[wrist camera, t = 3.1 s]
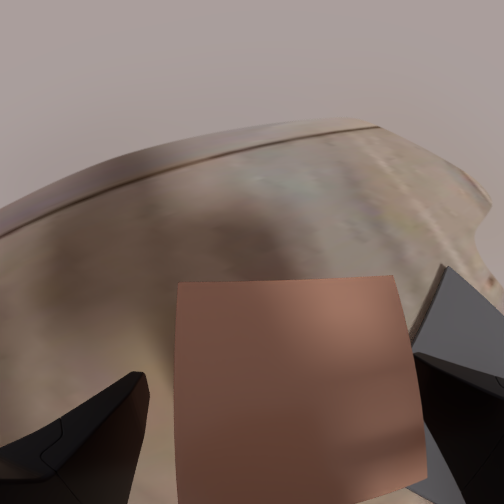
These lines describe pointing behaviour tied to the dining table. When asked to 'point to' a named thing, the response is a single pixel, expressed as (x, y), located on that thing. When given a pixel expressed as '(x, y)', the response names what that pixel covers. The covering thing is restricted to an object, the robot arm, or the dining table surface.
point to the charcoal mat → (457, 361)
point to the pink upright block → (294, 392)
